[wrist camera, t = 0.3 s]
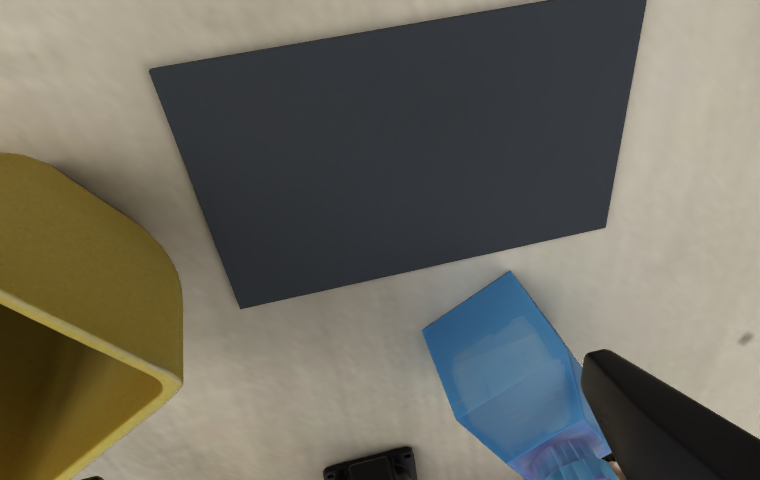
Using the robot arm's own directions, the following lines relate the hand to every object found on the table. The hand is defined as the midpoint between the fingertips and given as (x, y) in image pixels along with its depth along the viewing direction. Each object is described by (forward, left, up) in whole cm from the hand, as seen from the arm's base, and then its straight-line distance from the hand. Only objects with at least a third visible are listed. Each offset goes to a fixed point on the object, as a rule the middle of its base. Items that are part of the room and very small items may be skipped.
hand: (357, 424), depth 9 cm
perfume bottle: (-14, -9, -15) cm, 22 cm away
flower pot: (-2, +11, -15) cm, 18 cm away
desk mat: (-2, -5, -14) cm, 15 cm away
